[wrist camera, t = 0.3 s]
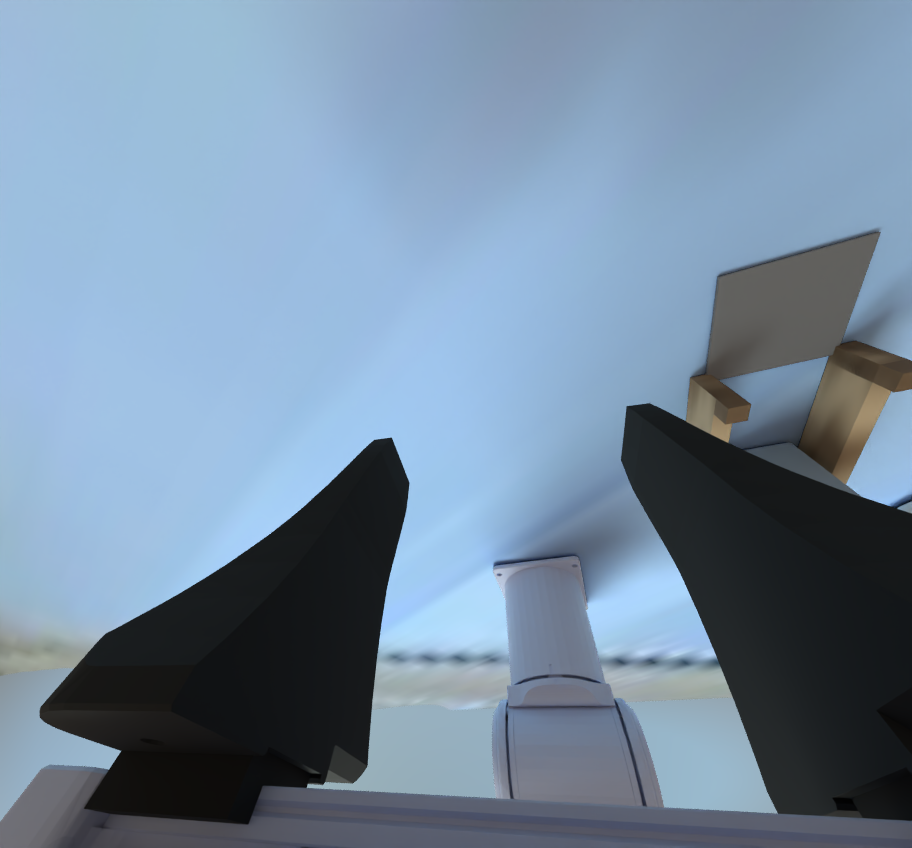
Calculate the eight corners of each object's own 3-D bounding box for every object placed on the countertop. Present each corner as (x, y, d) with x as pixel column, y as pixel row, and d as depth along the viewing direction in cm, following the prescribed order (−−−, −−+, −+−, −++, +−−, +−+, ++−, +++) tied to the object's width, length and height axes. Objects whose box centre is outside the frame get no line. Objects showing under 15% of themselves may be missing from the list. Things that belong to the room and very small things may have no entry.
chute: (794, 502, 24) (837, 542, 21) (676, 518, 26) (701, 557, 23) (855, 340, 17) (931, 368, 14) (690, 377, 19) (728, 408, 16)
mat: (834, 352, 18) (837, 354, 18) (704, 381, 19) (705, 382, 19) (877, 231, 14) (880, 232, 14) (717, 276, 16) (719, 277, 16)
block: (770, 503, 24) (830, 565, 20) (703, 512, 25) (747, 573, 21) (790, 442, 21) (866, 500, 17) (712, 455, 22) (766, 514, 18)
